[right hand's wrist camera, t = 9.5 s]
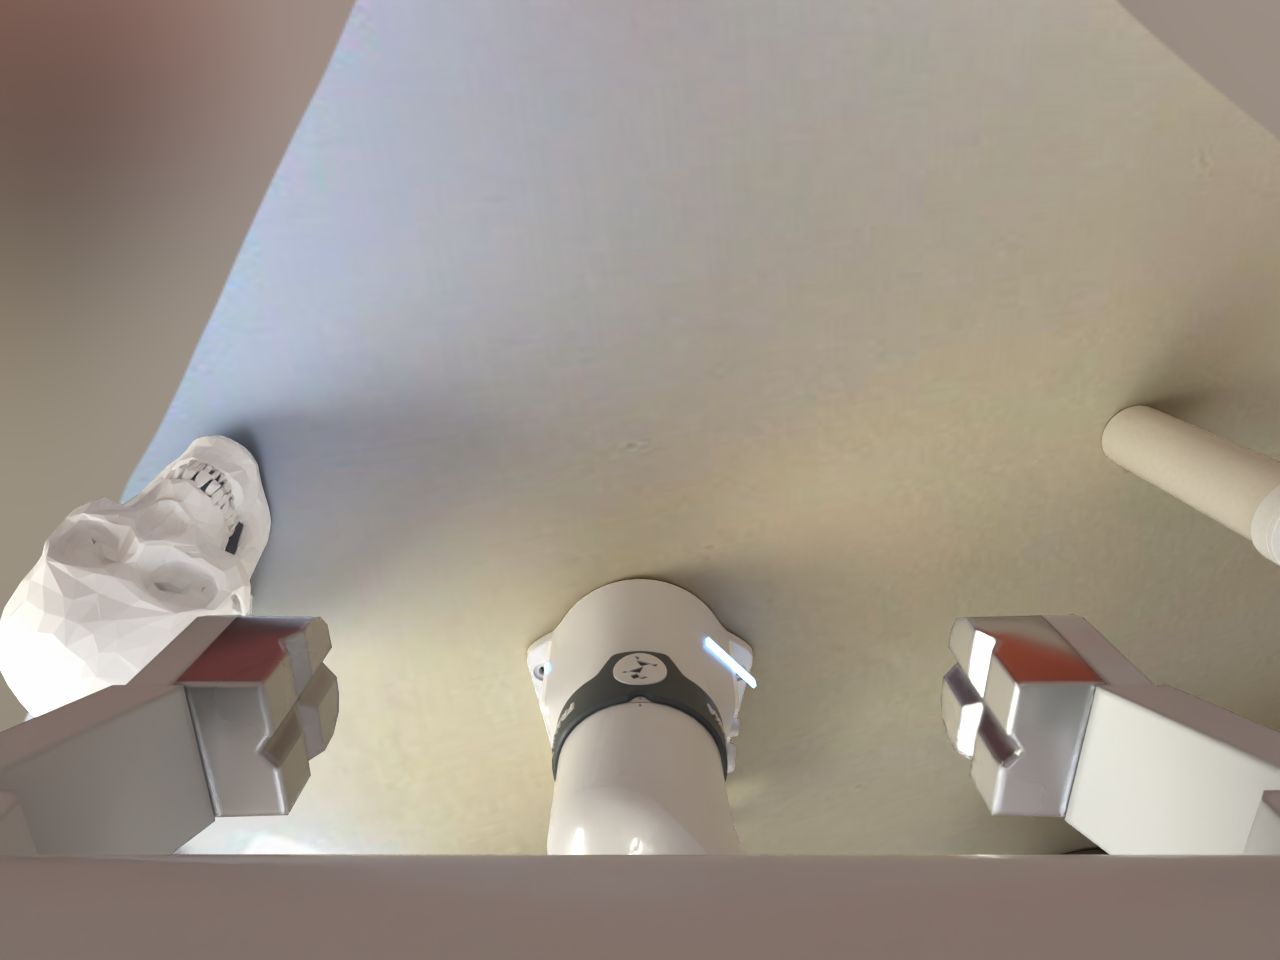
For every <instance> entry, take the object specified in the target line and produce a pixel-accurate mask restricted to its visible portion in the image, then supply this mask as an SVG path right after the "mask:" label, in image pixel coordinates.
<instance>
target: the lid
mask: <svg viewBox="0 0 1280 960" xmlns="http://www.w3.org/2000/svg"><path fill="white" fill-rule="evenodd" d="M1251 537H1252V541H1253V543H1254V545H1255V547H1256V549H1257V550H1258V551H1259V552H1260V553H1261V554H1262V555H1263V556H1264V557H1266V558H1268V559H1269V560H1271V561H1273V562H1275V563H1276V564H1278V565H1280V485H1278V486H1277V487H1275V488H1274V489H1273V490H1272V491H1271V492H1269V493H1268V494H1267V495H1266V497H1265V498H1264V499H1263V500H1262V501H1261V503H1260V504H1259V506H1258V507H1257V509H1256V511H1255V513H1254V516H1253V519H1252V523H1251Z"/></svg>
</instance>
